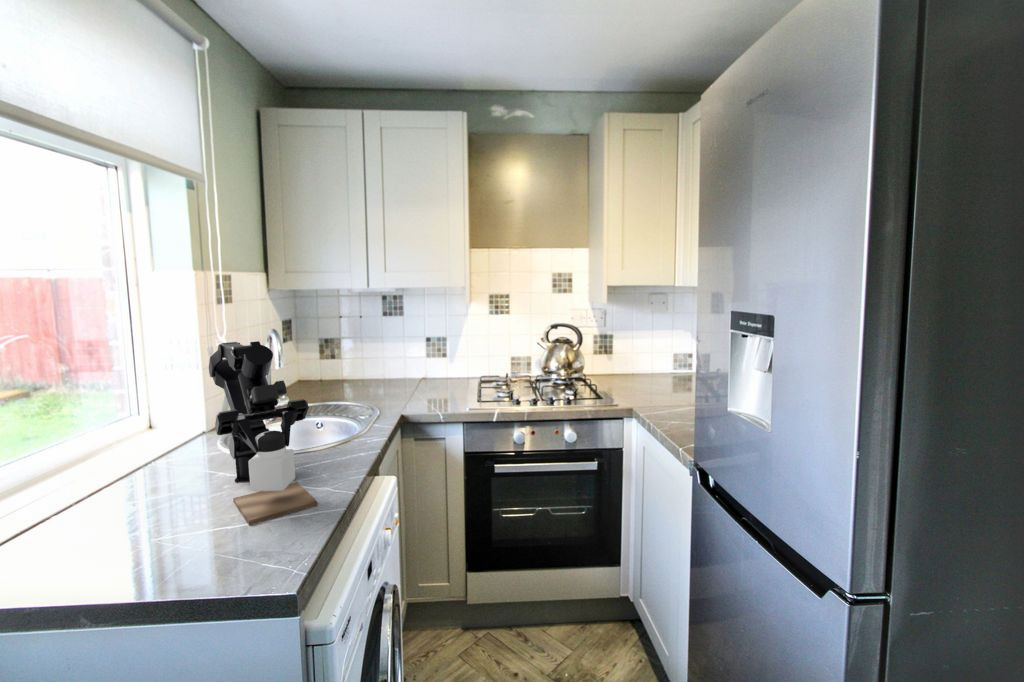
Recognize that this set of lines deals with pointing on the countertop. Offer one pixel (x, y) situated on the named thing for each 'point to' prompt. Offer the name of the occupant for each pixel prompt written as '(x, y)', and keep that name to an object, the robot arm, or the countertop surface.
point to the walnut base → (273, 503)
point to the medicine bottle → (271, 463)
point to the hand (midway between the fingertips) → (272, 448)
